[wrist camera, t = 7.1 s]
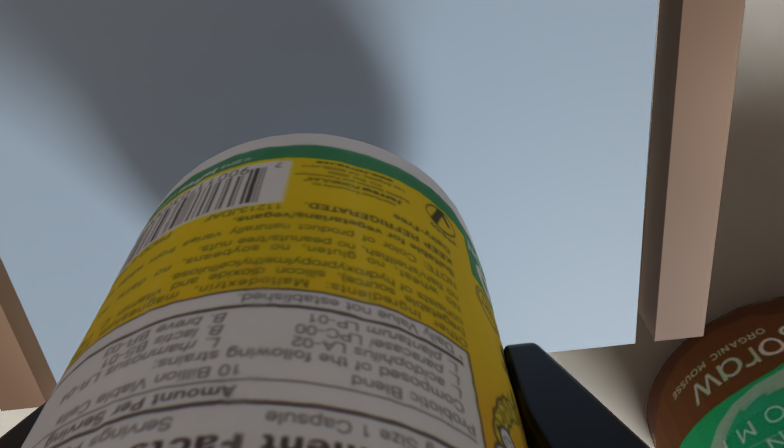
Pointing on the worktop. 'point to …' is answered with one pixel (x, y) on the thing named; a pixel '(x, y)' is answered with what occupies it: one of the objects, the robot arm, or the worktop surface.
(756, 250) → the worktop surface
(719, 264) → the worktop surface
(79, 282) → the grey flat block
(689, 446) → the food container
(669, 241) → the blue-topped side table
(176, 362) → the supplement bottle
